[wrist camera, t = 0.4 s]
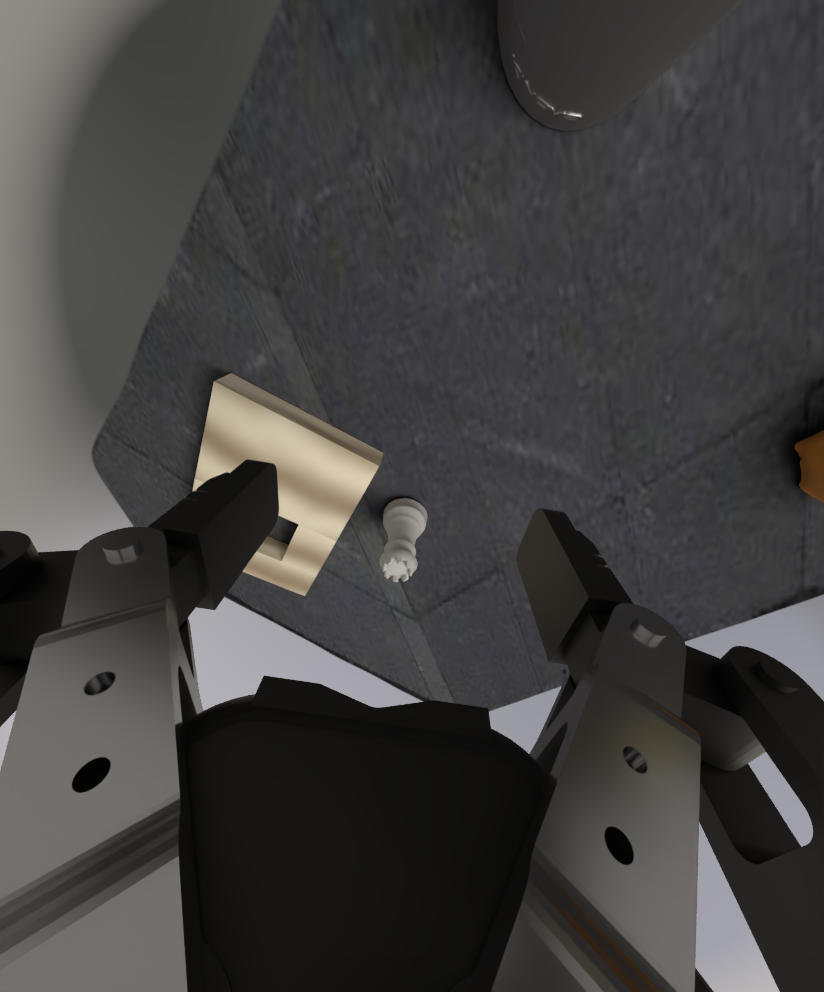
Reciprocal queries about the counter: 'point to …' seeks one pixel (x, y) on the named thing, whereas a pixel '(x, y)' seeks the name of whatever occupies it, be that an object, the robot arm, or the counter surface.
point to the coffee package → (812, 465)
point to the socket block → (288, 473)
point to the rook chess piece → (402, 537)
